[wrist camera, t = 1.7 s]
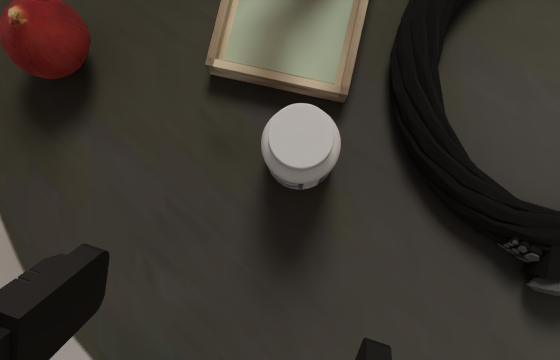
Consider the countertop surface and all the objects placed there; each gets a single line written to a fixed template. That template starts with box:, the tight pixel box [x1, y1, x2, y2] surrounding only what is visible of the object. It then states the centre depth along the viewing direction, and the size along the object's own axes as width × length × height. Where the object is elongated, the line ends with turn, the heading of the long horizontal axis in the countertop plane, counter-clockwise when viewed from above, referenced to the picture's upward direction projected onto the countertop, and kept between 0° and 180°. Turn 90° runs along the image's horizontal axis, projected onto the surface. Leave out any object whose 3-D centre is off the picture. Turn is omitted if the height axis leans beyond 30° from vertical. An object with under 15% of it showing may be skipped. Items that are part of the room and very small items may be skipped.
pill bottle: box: [261, 103, 341, 190], centre depth 30 cm, size 5×5×9 cm
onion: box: [0, 0, 91, 79], centre depth 32 cm, size 6×6×8 cm
